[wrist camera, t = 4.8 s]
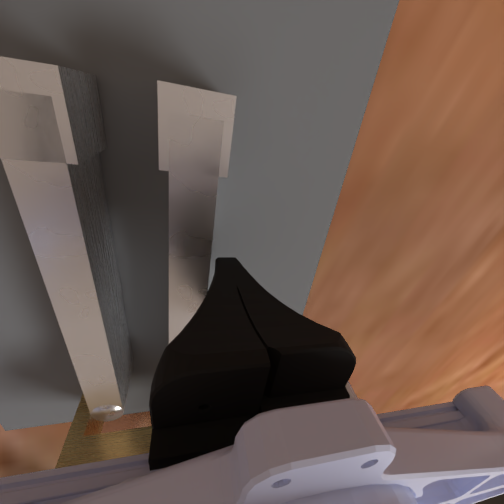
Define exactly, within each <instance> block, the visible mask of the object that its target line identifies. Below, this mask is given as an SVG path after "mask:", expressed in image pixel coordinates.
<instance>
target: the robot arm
mask: <svg viewBox="0 0 504 504" xmlns="http://www.w3.org/2000/svg"><path fill="white" fill-rule="evenodd" d="M355 364H356V357H355V356H354V354H353V352H352V350H351V349H350V347H349V345H348V344H347V342H346V341H345V339H344V338H343V336H342V335H341V334H340V333H339V332H337V331H334V330H332V329H330V328H327V327H325V326H323V325H320V324H318V323H316V322H314V321H312V320H310V319H308V318H306V317H304V316H302V315H301V314H299V313H297V312H296V311H294V310H292V309H291V308H289V307H288V306H286V305H285V304H283V303H282V302H280V301H279V300H278V299H276V298H275V297H274V296H272V295H271V294H270V293H269V292H268V291H266V290H265V289H264V288H263V287H262V286H261V285H260V284H259V283H258V282H257V281H256V280H255V279H254V278H253V277H252V276H251V275H250V274H249V272H248V271H247V270H246V269H245V268H244V267H243V265H242V264H241V263H240V262H239V261H238V259H237V258H236V257H218V258H217V259H215V273H214V276H213V280H212V282H211V285H210V287H209V290H208V292H207V294H206V296H205V298H204V300H203V302H202V303H201V305H200V307H199V308H198V310H197V311H196V313H195V314H194V316H193V317H192V319H191V320H190V321H189V322H188V324H187V325H186V326H185V327H184V328H183V330H182V331H181V332H180V333H179V334H178V335H177V336H176V337H175V338H174V339H173V340H172V341H171V342H170V343H169V344H168V345H167V346H166V348H165V350H164V352H163V354H162V356H161V358H160V361H159V363H158V365H157V368H156V371H155V374H154V377H153V380H152V384H151V391H150V400H149V409H150V416H151V424H152V434H151V442H150V450H149V453H145V454H139V455H133V456H127V457H122V458H116V459H110V460H104V461H98V462H92V463H86V464H80V465H74V466H68V467H62V468H56V469H50V470H44V471H39V472H33V473H27V474H21V475H15V476H9V477H3V478H0V504H474V503H477V502H480V501H483V500H486V499H489V498H491V497H495V496H498V495H501V494H504V400H503V399H502V398H501V397H500V396H499V395H498V394H497V393H496V392H495V391H494V390H493V389H492V388H491V387H490V386H480V387H474V388H468V389H465V390H463V391H461V392H460V393H458V394H457V395H456V396H455V398H454V399H453V402H448V403H442V404H436V405H430V406H424V407H418V408H412V409H406V410H400V411H394V412H388V413H382V414H376V413H375V411H374V410H373V408H372V406H371V405H370V404H369V403H368V402H366V401H365V400H363V399H351V398H350V395H349V393H348V391H347V389H346V387H345V386H346V384H347V382H348V380H349V378H350V376H351V374H352V373H353V370H354V367H355Z"/></svg>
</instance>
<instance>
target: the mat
mask: <svg viewBox="0 0 504 504" xmlns="http://www.w3.org/2000/svg"><path fill="white" fill-rule="evenodd" d="M398 2H399V0H0V56H2V57H8V58H14V59H20V60H27V61H33V62H39V63H45V64H52V65H58V66H62V67H66V68H70V69H73V70H77V71H81V72H85V73H89V74H93V75H96V80H97V87H98V93H99V100H100V107H101V113H102V120H103V127H104V134H105V140H106V147H107V148H106V149H104V150H103V151H101V152H99V155H100V161H101V167H102V174H103V180H104V186H105V192H106V198H107V204H108V210H109V216H110V222H111V228H112V235H113V241H114V247H115V253H116V259H117V265H118V271H119V277H120V283H121V289H122V296H123V302H124V308H125V314H126V320H127V326H128V332H129V338H130V344H131V350H132V357H133V363H134V366H133V371H132V375H131V380H130V384H129V389H128V394H127V398H126V403H125V408H124V412H123V415H124V414H131V413H138V412H146V411H150V409H149V400H150V391H151V384H152V380H153V377H154V374H155V371H156V368H157V365H158V363H159V361H160V358H161V356H162V354H163V352H164V350H165V348H166V346H167V345H168V344H169V171H163V170H159V149H158V94H157V80H159V81H164V82H169V83H174V84H179V85H184V86H189V87H194V88H199V89H204V90H209V91H214V92H219V93H224V94H229V95H234V96H237V97H236V106H235V115H234V124H233V133H232V142H231V150H230V159H229V168H228V177H227V178H225V177H219V178H218V188H217V199H216V209H215V219H214V230H213V240H212V251H211V261H210V271H209V282H208V290H209V287H210V285H211V282H212V280H213V276H214V273H215V259H217V258H218V257H236V258H237V259H238V261H239V262H240V263H241V264H242V265H243V267H244V268H245V269H246V270H247V271H248V272H249V274H250V275H251V276H252V277H253V278H254V279H255V280H256V281H257V282H258V283H259V284H260V285H261V286H262V287H263V288H264V289H265V290H266V291H268V292H269V293H270V294H271V295H272V296H274V297H275V298H276V299H278V300H279V301H280V302H282V303H283V304H285V305H286V306H288V307H289V308H291V309H292V310H294V311H296V312H297V313H299V314H301V315H303V311H304V308H305V305H306V302H307V298H308V295H309V292H310V289H311V285H312V282H313V279H314V276H315V272H316V269H317V266H318V263H319V259H320V256H321V253H322V250H323V246H324V243H325V240H326V237H327V233H328V230H329V227H330V224H331V220H332V217H333V214H334V211H335V207H336V204H337V201H338V198H339V194H340V191H341V188H342V185H343V181H344V178H345V175H346V172H347V168H348V165H349V162H350V159H351V155H352V152H353V149H354V146H355V142H356V139H357V136H358V133H359V129H360V126H361V123H362V120H363V116H364V113H365V110H366V107H367V103H368V100H369V97H370V94H371V90H372V87H373V84H374V81H375V77H376V74H377V71H378V68H379V64H380V61H381V58H382V54H383V51H384V48H385V45H386V41H387V38H388V35H389V32H390V28H391V25H392V22H393V19H394V15H395V12H396V9H397V6H398ZM82 394H83V391H82V389H81V386H80V383H79V380H78V377H77V374H76V371H75V369H74V366H73V363H72V360H71V357H70V354H69V352H68V349H67V346H66V343H65V340H64V337H63V334H62V332H61V329H60V326H59V323H58V320H57V317H56V314H55V312H54V309H53V306H52V303H51V300H50V297H49V295H48V292H47V289H46V286H45V283H44V280H43V277H42V275H41V272H40V269H39V266H38V263H37V260H36V257H35V255H34V252H33V249H32V246H31V243H30V240H29V237H28V235H27V232H26V229H25V226H24V223H23V220H22V218H21V215H20V212H19V209H18V206H17V203H16V200H15V198H14V195H13V192H12V189H11V186H10V183H9V180H8V178H7V175H6V172H5V169H4V166H3V163H2V161H1V158H0V424H1V425H2V427H3V428H4V429H5V431H7V430H14V429H21V428H29V427H36V426H43V425H51V424H58V423H65V422H72V421H73V419H74V416H75V413H76V410H77V408H78V405H79V402H80V400H81V397H82Z"/></svg>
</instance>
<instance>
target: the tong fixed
mask: <svg viewBox="0 0 504 504" xmlns="http://www.w3.org/2000/svg"><path fill="white" fill-rule="evenodd" d="M106 148H107V147H106V140H105V134H104V127H103V120H102V113H101V107H100V100H99V93H98V87H97V80H96V75H93V74H89V73H85V72H81V71H77V70H73V69H70V68H66V67H62V66H58V65H52V64H45V63H39V62H33V61H27V60H20V59H14V58H8V57H2V56H0V158H1V161H2V163H3V166H4V169H5V172H6V175H7V178H8V180H9V183H10V186H11V189H12V192H13V195H14V198H15V200H16V203H17V206H18V209H19V212H20V215H21V218H22V220H23V223H24V226H25V229H26V232H27V235H28V237H29V240H30V243H31V246H32V249H33V252H34V255H35V257H36V260H37V263H38V266H39V269H40V272H41V275H42V277H43V280H44V283H45V286H46V289H47V292H48V295H49V297H50V300H51V303H52V306H53V309H54V312H55V314H56V317H57V320H58V323H59V326H60V329H61V332H62V334H63V337H64V340H65V343H66V346H67V349H68V352H69V354H70V357H71V360H72V363H73V366H74V369H75V371H76V374H77V377H78V380H79V383H80V386H81V389H82V391H83V394H84V397H85V400H86V403H87V406H88V409H89V411H90V414H91V417H92V418H93V419H95V420H98V421H113V420H116V419H118V418H120V417H121V416H122V415H123V412H124V408H125V403H126V398H127V394H128V389H129V384H130V380H131V375H132V371H133V366H134V363H133V357H132V350H131V344H130V338H129V332H128V326H127V320H126V314H125V308H124V302H123V296H122V289H121V283H120V277H119V271H118V265H117V259H116V253H115V247H114V241H113V235H112V228H111V222H110V216H109V210H108V204H107V198H106V192H105V186H104V180H103V174H102V167H101V161H100V155H99V152H101V151H103V150H104V149H106Z"/></svg>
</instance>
